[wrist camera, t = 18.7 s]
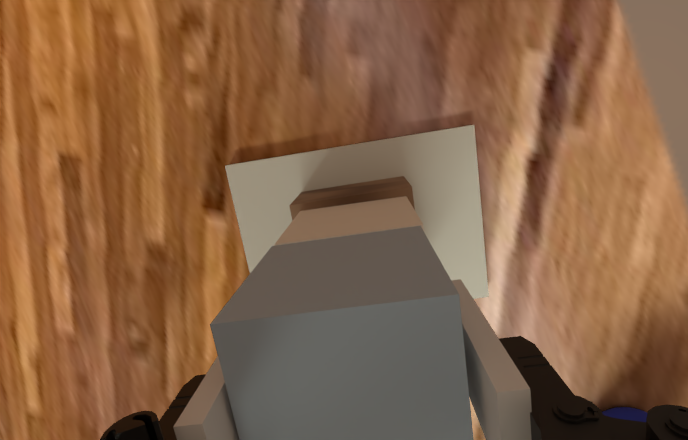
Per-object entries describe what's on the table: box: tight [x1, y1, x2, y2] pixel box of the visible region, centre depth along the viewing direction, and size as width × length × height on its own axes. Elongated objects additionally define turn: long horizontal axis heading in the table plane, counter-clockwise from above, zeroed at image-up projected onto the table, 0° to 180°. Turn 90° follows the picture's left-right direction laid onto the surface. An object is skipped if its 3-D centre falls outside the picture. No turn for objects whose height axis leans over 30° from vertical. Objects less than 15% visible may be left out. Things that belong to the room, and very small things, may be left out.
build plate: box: [225, 125, 489, 299], centre depth 30 cm, size 18×13×1 cm
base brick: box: [289, 176, 415, 221], centre depth 27 cm, size 8×8×5 cm
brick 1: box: [274, 196, 424, 246], centre depth 21 cm, size 6×6×7 cm
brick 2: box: [210, 226, 473, 440], centre depth 14 cm, size 6×6×7 cm
